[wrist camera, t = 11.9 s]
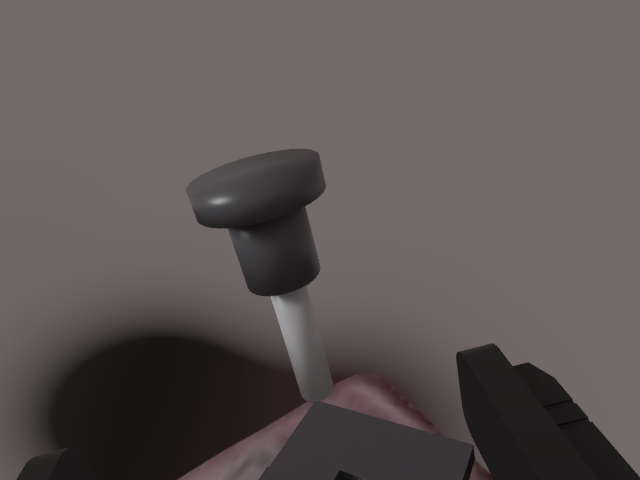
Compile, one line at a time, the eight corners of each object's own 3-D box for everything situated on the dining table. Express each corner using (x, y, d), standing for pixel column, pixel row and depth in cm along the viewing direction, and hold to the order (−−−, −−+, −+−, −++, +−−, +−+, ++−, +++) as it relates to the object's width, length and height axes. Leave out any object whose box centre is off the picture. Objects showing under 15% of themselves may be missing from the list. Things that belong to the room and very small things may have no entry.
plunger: (243, 415, 21) (157, 197, 17) (301, 346, 25) (244, 153, 20) (338, 448, 18) (265, 196, 14) (387, 364, 22) (342, 145, 18)
